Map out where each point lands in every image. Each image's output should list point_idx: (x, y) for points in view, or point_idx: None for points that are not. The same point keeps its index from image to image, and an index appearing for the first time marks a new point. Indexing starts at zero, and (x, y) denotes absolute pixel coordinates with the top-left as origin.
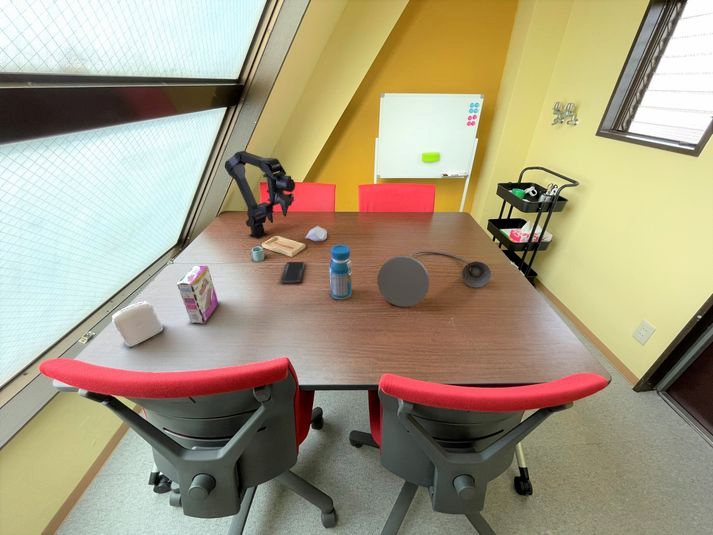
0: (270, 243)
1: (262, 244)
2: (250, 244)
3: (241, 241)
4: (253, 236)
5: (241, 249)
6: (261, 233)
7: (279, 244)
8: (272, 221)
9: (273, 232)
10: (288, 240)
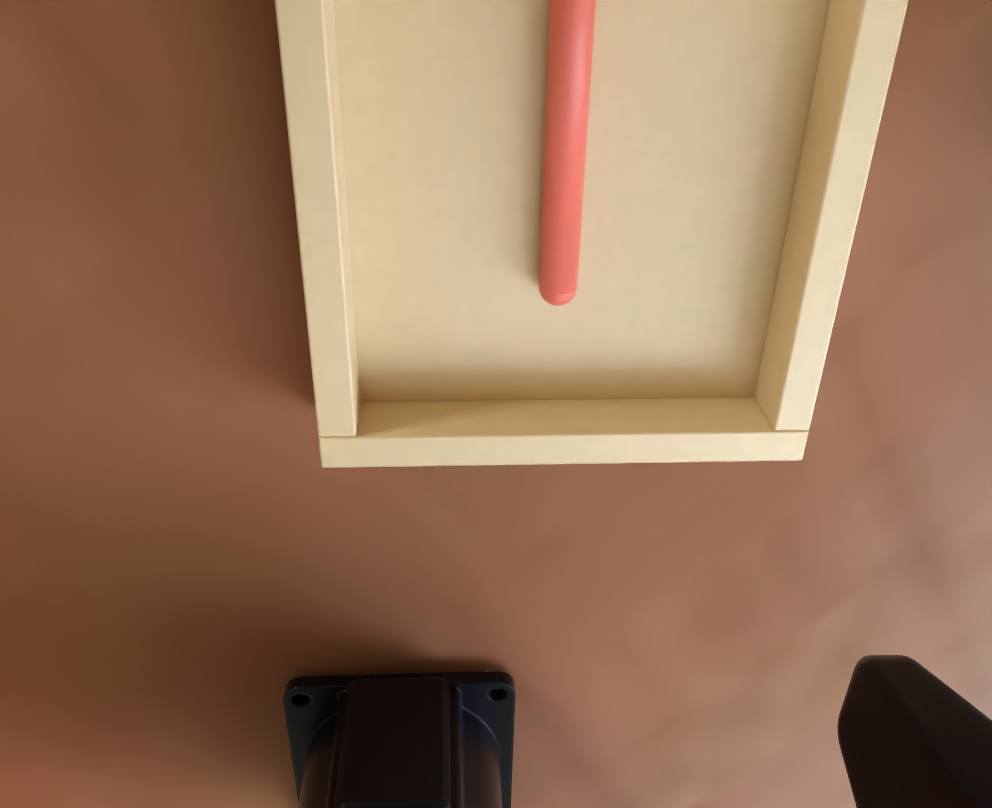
0: (603, 372)
1: (803, 434)
2: (747, 631)
3: (712, 776)
4: (512, 758)
5: (951, 624)
6: (435, 721)
7: (586, 143)
8: (965, 715)
9: (160, 635)
10: (329, 37)
